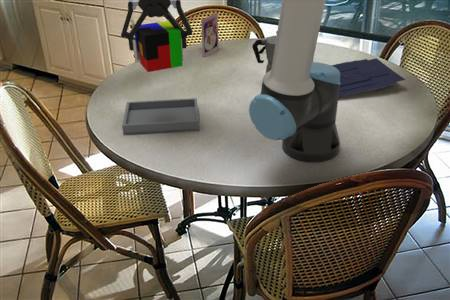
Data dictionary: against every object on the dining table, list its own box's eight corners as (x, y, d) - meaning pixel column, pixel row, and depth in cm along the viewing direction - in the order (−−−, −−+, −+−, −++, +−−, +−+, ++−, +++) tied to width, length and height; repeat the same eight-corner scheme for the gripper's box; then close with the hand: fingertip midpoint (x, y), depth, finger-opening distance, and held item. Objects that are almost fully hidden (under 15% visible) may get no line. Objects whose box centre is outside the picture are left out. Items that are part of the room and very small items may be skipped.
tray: (199, 130, 139) (198, 121, 138) (123, 134, 138) (122, 125, 137) (197, 106, 153) (196, 98, 151) (128, 110, 151) (126, 101, 150)
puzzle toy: (137, 60, 139) (133, 25, 134) (170, 54, 142) (167, 20, 137) (147, 72, 131) (144, 36, 126) (182, 65, 135) (180, 30, 129)
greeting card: (205, 57, 190) (203, 19, 183) (189, 54, 194) (187, 17, 186) (220, 49, 199) (219, 12, 191) (205, 46, 202) (203, 10, 194)
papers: (408, 89, 158) (409, 79, 156) (320, 109, 155) (320, 99, 153) (374, 63, 179) (374, 54, 177) (296, 80, 176) (295, 71, 174)
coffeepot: (290, 75, 174) (293, 25, 164) (299, 85, 166) (302, 33, 156) (248, 79, 171) (249, 28, 162) (255, 89, 163) (256, 37, 154)
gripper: (198, -25, 129) (201, 53, 140) (107, -22, 127) (117, 57, 139) (199, -18, 122) (202, 63, 134) (103, -16, 121) (114, 66, 132)
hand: (159, 60), depth 136 cm, fingers closed on puzzle toy, 12 cm apart
